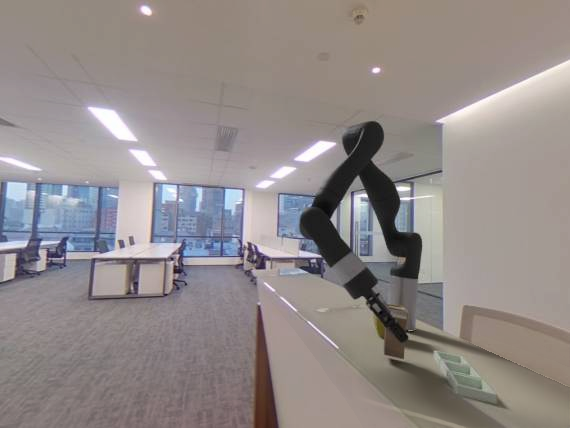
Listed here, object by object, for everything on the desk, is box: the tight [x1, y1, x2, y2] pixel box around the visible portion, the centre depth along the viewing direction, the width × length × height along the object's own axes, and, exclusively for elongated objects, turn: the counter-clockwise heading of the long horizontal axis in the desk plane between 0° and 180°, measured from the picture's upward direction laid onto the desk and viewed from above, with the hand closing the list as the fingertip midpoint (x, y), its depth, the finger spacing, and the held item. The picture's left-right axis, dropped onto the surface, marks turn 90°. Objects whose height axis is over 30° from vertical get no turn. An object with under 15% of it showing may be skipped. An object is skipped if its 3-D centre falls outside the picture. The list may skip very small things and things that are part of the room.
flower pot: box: [372, 303, 409, 339], centre depth 79 cm, size 9×9×9 cm
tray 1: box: [433, 350, 472, 367], centre depth 62 cm, size 6×6×2 cm
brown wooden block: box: [383, 306, 407, 360], centre depth 61 cm, size 4×4×10 cm
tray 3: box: [447, 372, 498, 405], centre depth 50 cm, size 6×6×2 cm
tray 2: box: [439, 360, 483, 380], centre depth 56 cm, size 6×6×2 cm
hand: (403, 337), depth 60 cm, fingers closed on brown wooden block, 4 cm apart
